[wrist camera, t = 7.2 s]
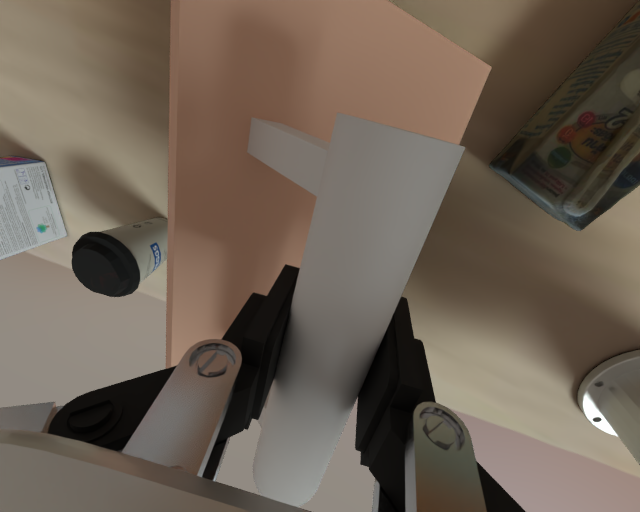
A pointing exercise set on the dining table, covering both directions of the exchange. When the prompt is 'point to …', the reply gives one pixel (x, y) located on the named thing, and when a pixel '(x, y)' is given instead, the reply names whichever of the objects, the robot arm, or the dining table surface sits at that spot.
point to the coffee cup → (120, 256)
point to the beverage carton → (584, 134)
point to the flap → (306, 192)
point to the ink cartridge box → (27, 206)
